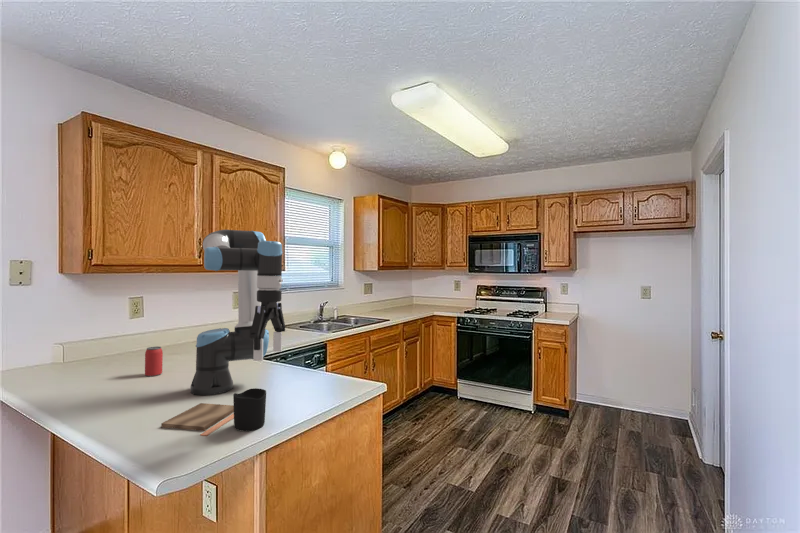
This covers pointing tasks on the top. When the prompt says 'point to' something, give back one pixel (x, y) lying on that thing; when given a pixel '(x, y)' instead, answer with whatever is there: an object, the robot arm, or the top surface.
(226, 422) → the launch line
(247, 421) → the pen holder
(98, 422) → the top surface
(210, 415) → the board
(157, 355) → the beer can
